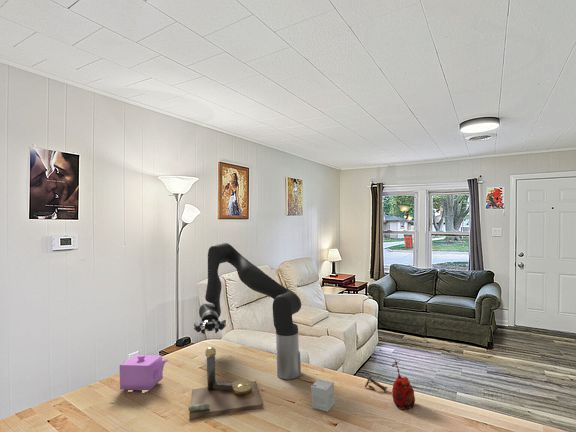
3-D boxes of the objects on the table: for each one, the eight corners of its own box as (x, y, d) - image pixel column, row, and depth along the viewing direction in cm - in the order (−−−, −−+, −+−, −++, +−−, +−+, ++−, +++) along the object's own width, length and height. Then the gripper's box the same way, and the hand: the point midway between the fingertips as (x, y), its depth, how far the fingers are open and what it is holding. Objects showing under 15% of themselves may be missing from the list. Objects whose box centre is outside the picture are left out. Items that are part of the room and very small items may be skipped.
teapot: (114, 393, 131) (113, 360, 132) (129, 381, 141) (129, 350, 142) (163, 395, 129) (162, 361, 129) (175, 382, 139) (175, 351, 139)
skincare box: (335, 403, 119) (334, 382, 119) (327, 412, 113) (326, 389, 113) (318, 399, 122) (318, 378, 122) (311, 408, 116) (310, 385, 117)
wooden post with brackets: (363, 384, 131) (367, 373, 130) (383, 396, 127) (387, 386, 126) (362, 386, 129) (366, 375, 128) (382, 398, 125) (386, 388, 125)
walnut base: (256, 384, 135) (255, 376, 135) (263, 408, 117) (262, 398, 117) (191, 393, 129) (190, 384, 129) (188, 419, 112) (187, 409, 112)
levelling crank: (254, 387, 129) (253, 345, 129) (248, 396, 122) (246, 352, 123) (210, 383, 133) (209, 343, 133) (202, 392, 126) (201, 350, 126)
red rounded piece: (406, 413, 111) (404, 366, 112) (387, 405, 117) (386, 360, 117) (419, 404, 116) (417, 359, 116) (400, 397, 121) (398, 354, 122)
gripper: (193, 313, 154) (191, 323, 138) (225, 310, 158) (227, 320, 141) (193, 329, 154) (191, 342, 138) (226, 326, 157) (228, 338, 141)
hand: (210, 331), depth 139 cm, fingers open, 4 cm apart
